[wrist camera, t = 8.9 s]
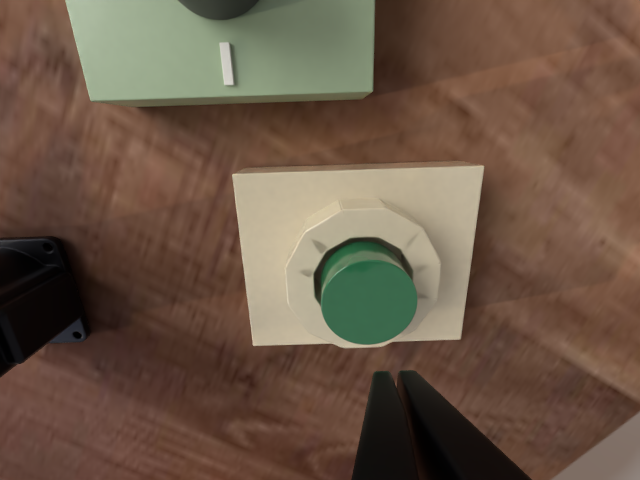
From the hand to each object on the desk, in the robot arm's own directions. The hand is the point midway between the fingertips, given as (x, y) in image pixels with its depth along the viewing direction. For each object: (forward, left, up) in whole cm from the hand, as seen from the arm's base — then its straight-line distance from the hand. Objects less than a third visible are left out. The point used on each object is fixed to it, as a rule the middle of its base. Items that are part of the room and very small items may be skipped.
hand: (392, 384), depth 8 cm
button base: (0, 0, -10) cm, 10 cm away
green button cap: (0, 0, -6) cm, 6 cm away
